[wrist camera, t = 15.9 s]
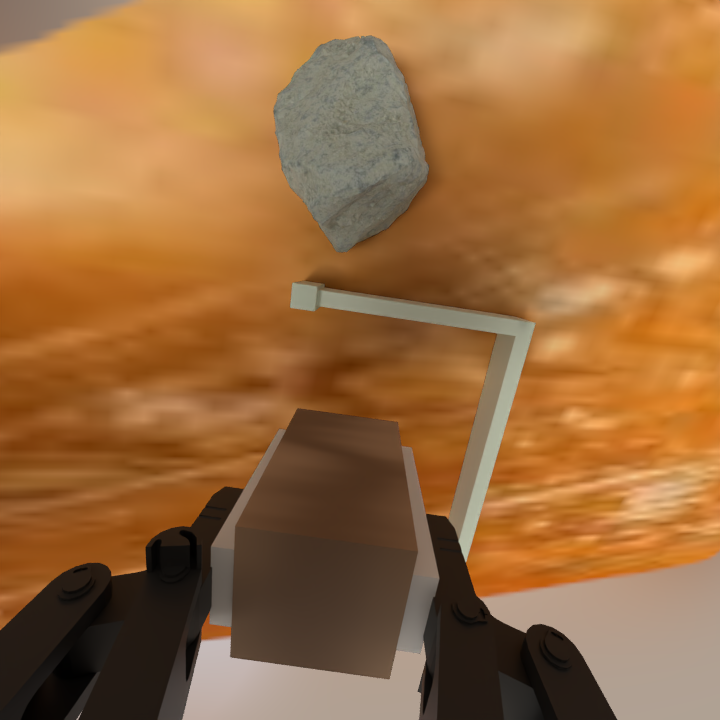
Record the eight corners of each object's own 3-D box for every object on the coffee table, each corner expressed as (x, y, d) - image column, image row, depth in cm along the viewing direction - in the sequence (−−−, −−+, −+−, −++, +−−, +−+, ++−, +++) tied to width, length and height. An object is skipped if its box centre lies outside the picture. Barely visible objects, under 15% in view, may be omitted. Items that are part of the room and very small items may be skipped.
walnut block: (290, 493, 16) (230, 657, 9) (297, 408, 15) (235, 526, 8) (382, 506, 16) (389, 679, 9) (397, 422, 15) (417, 551, 8)
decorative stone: (420, 268, 28) (492, 165, 19) (290, 282, 24) (299, 166, 15) (378, 148, 31) (421, 11, 22) (258, 146, 28) (249, -16, 19)
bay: (276, 553, 36) (264, 592, 32) (303, 280, 28) (292, 282, 24) (444, 577, 36) (454, 617, 32) (516, 313, 29) (542, 320, 24)
